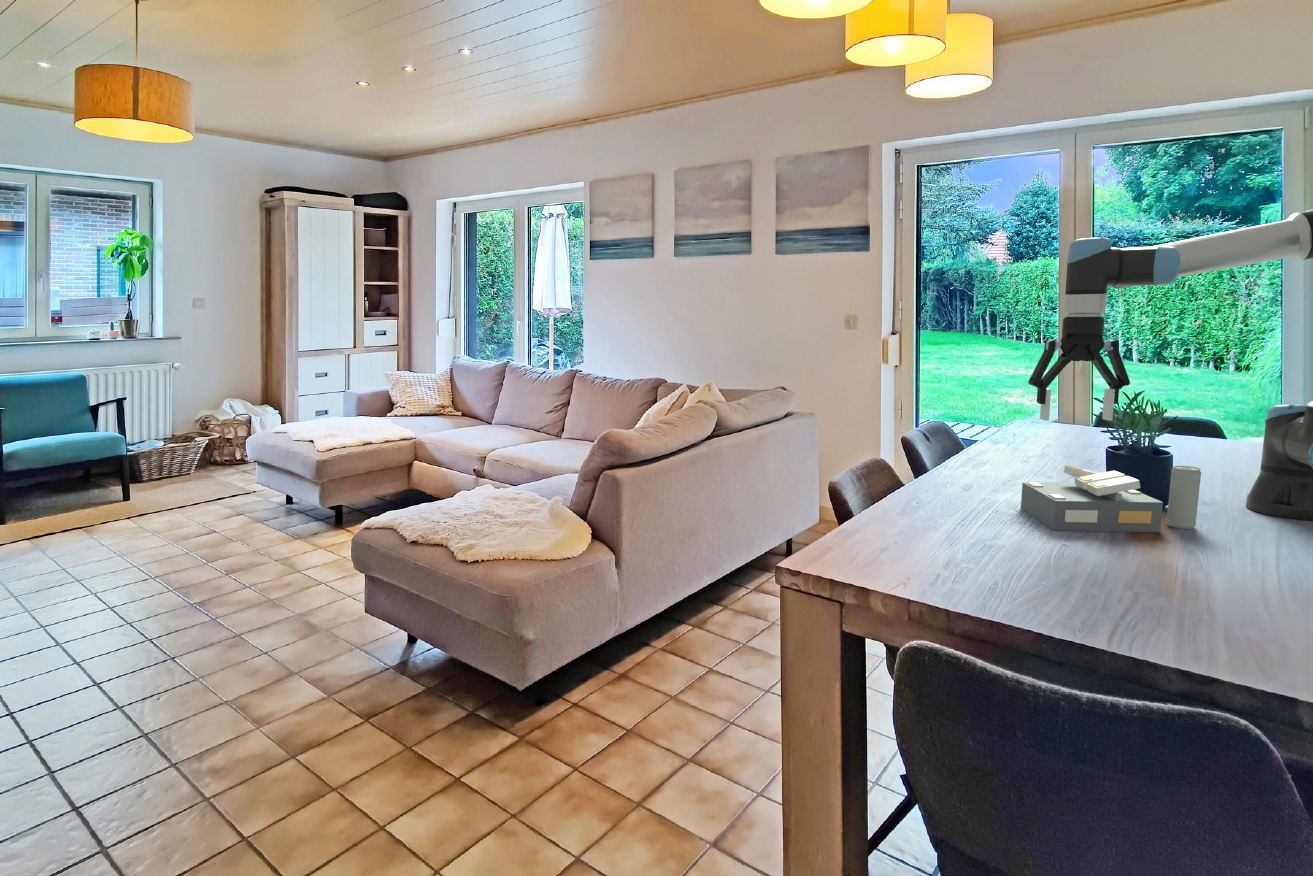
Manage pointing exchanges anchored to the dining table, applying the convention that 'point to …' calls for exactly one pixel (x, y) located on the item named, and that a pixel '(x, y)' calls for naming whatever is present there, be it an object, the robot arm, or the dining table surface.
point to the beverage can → (1183, 497)
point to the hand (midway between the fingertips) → (1075, 419)
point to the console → (1090, 508)
